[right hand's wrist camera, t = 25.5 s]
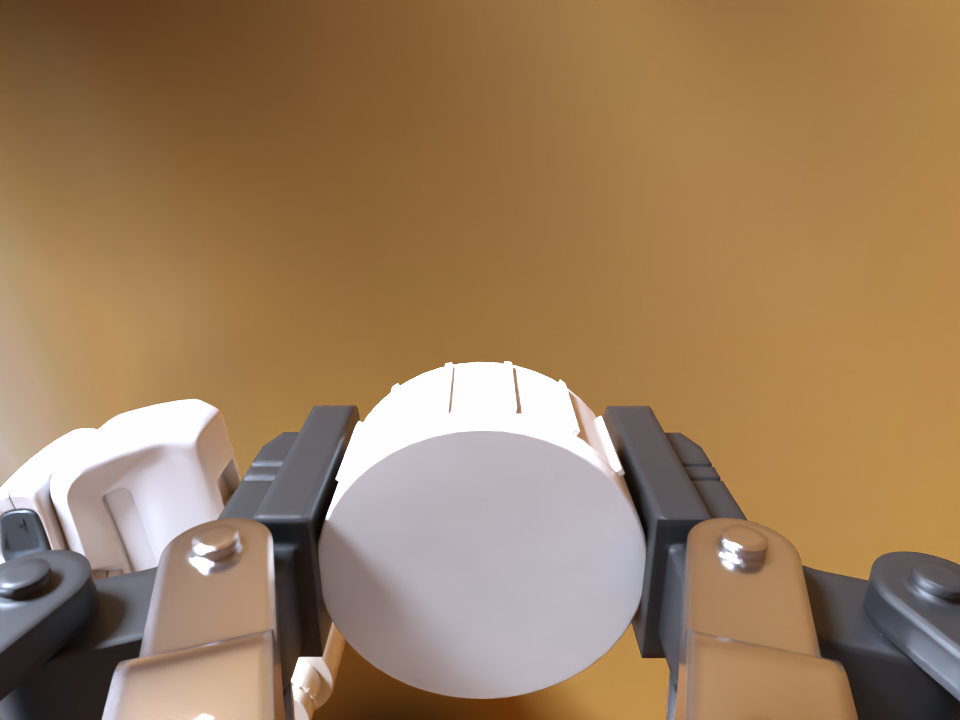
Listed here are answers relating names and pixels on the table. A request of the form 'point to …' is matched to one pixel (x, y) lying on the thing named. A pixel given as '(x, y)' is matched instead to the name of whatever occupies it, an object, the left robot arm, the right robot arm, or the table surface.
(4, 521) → the left robot arm
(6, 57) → the table surface
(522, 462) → the lid
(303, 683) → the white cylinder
